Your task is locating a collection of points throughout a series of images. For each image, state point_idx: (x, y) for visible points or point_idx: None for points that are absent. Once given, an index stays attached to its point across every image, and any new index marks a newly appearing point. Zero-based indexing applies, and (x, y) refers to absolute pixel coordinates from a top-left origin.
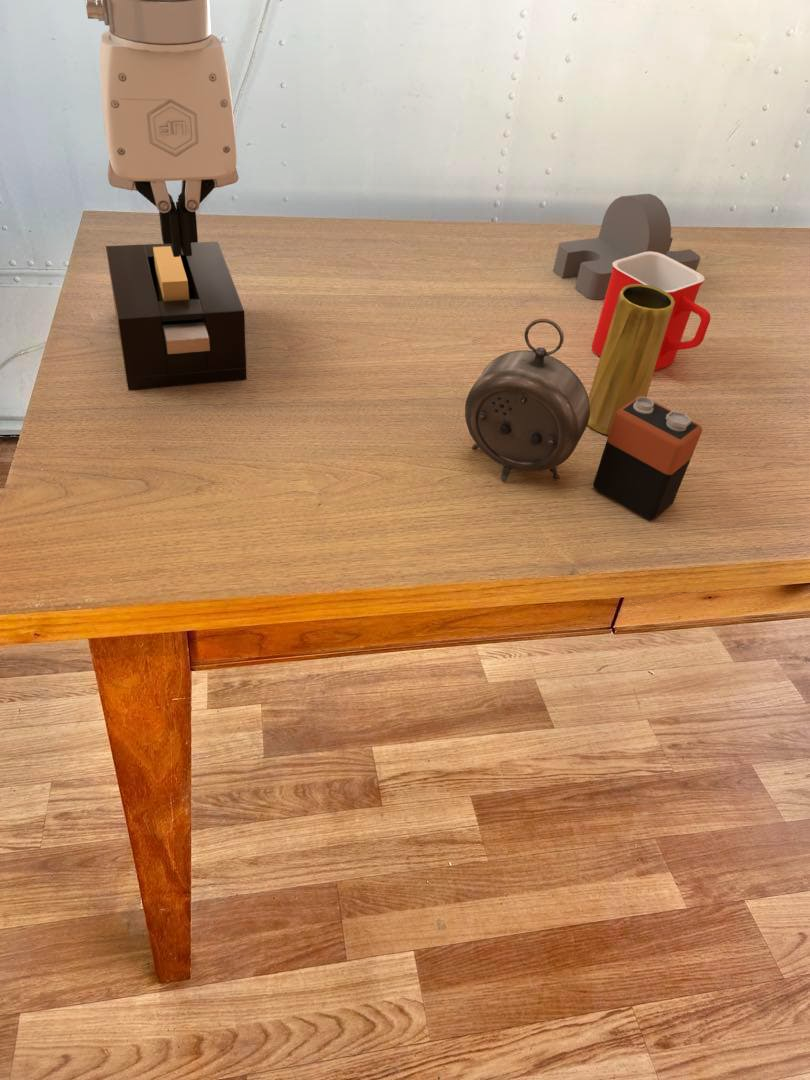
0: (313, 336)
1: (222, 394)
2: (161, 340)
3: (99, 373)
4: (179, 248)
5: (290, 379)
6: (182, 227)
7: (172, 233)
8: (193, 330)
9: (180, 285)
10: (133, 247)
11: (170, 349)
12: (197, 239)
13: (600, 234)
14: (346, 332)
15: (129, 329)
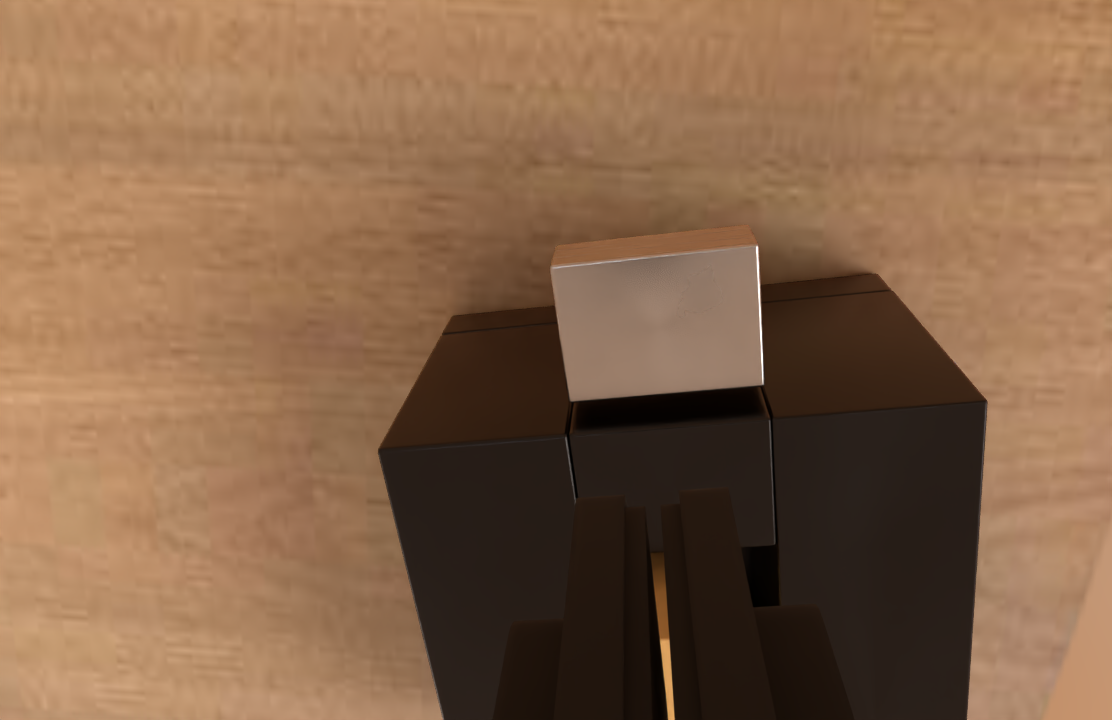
0: (232, 554)
1: (538, 230)
2: (765, 364)
3: None
4: (677, 534)
5: (298, 310)
6: (637, 674)
7: (746, 619)
8: (622, 329)
9: (667, 622)
10: None
11: (737, 232)
12: (511, 626)
13: None
14: (126, 569)
15: (919, 380)
